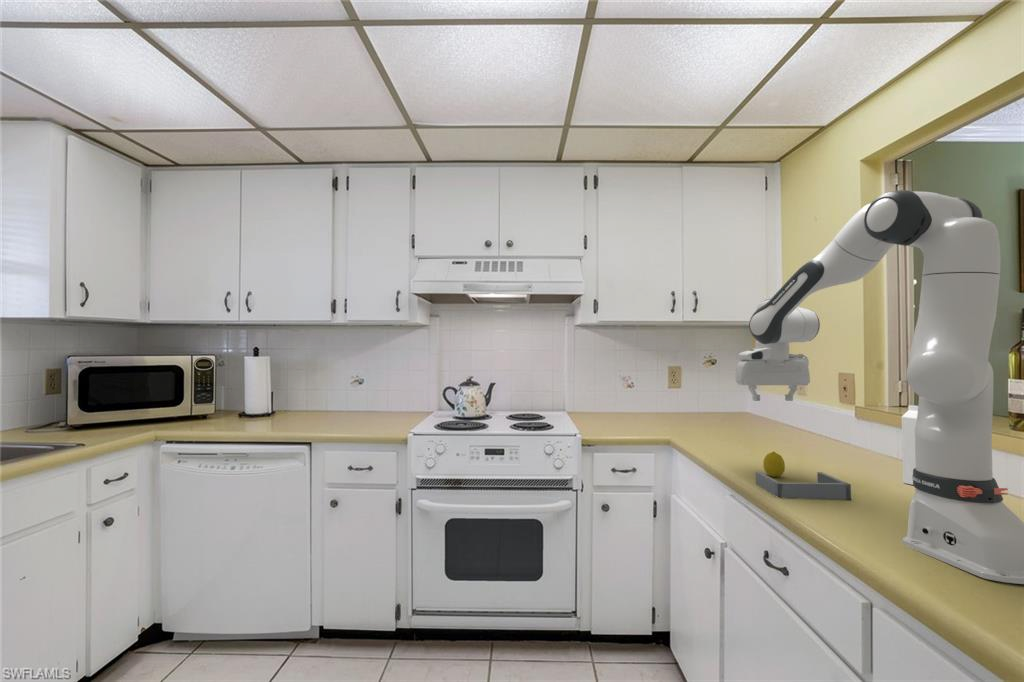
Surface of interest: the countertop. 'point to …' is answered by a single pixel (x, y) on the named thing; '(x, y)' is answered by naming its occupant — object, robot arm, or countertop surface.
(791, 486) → the box
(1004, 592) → the countertop surface
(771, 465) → the lemon
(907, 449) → the milk
